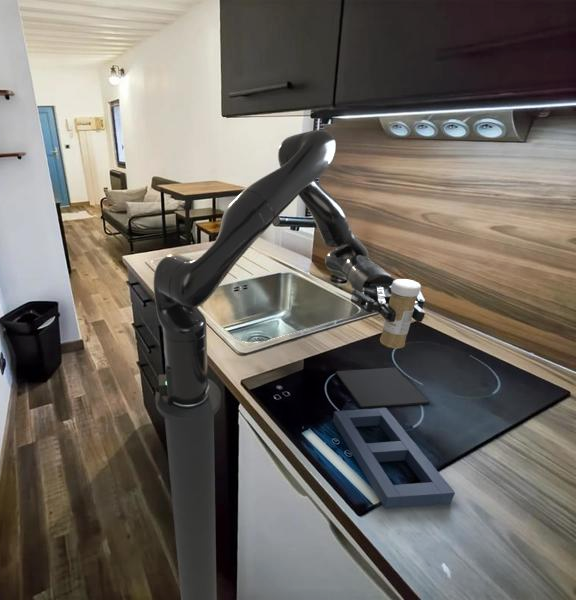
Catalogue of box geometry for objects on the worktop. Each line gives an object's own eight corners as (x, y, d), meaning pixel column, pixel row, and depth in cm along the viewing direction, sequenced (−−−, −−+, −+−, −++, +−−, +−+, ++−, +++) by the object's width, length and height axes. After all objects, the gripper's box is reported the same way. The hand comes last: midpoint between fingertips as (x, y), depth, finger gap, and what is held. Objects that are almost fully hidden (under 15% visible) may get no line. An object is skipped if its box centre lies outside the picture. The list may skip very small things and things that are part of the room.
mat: (361, 408, 74) (361, 406, 74) (335, 373, 85) (335, 371, 85) (428, 403, 75) (429, 401, 74) (394, 369, 85) (395, 367, 85)
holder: (384, 508, 55) (387, 497, 54) (332, 420, 72) (334, 411, 71) (450, 503, 55) (455, 492, 54) (383, 417, 72) (386, 407, 71)
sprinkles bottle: (374, 339, 75) (387, 280, 69) (392, 336, 76) (407, 276, 70) (391, 351, 71) (406, 289, 65) (410, 347, 72) (427, 285, 66)
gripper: (340, 267, 82) (371, 300, 67) (407, 265, 81) (453, 299, 66) (336, 297, 85) (364, 335, 70) (399, 296, 84) (442, 334, 69)
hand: (407, 317), depth 68 cm, fingers closed on sprinkles bottle, 4 cm apart
